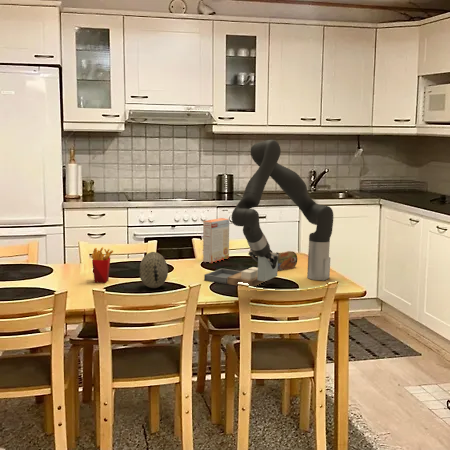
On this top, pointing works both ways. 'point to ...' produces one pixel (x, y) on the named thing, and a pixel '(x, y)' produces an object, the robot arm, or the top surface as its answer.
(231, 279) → the board
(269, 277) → the grey-blue rectangular block
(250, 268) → the tile
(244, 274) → the tile
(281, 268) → the tin
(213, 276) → the tray
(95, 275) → the french fries
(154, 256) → the decorative egg
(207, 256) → the cracker box
